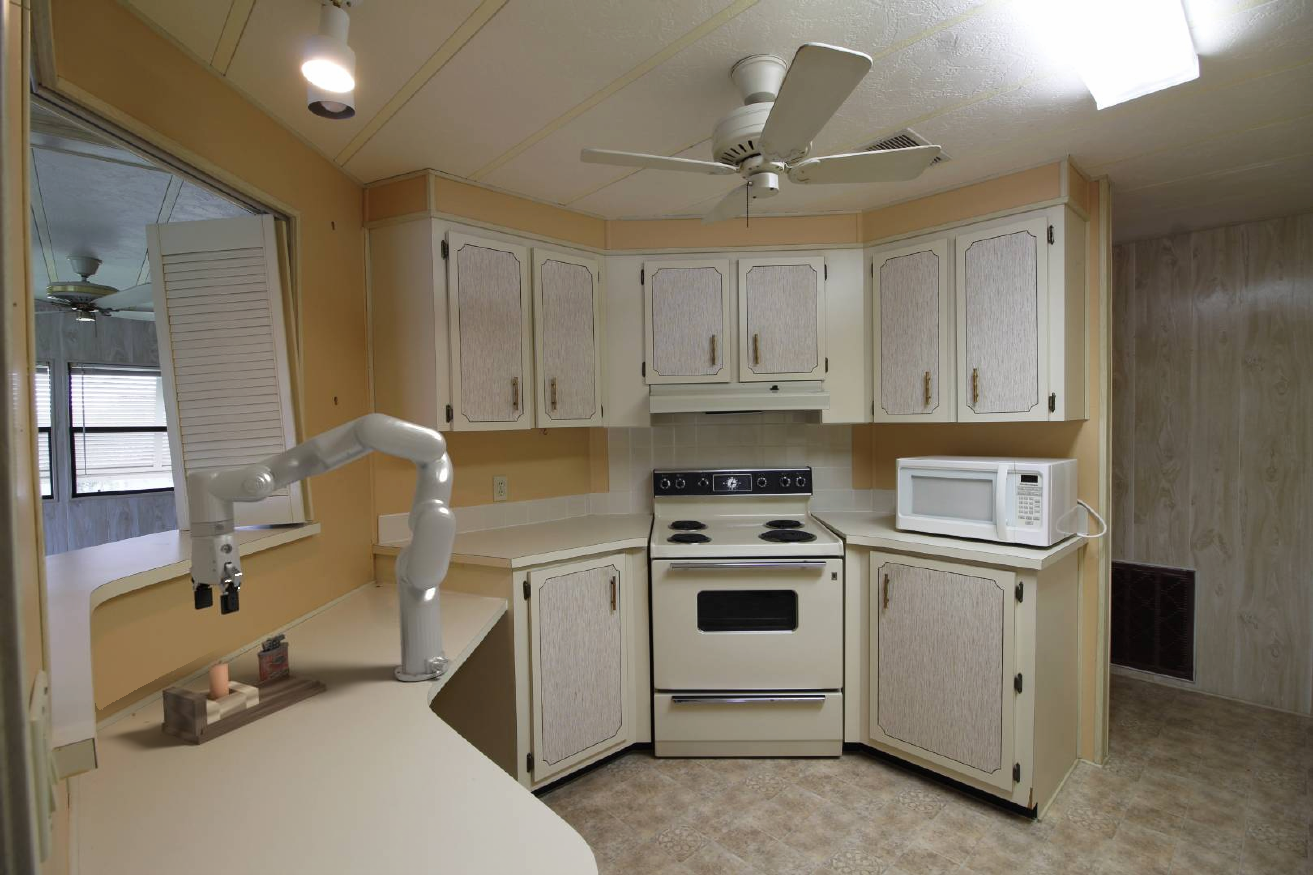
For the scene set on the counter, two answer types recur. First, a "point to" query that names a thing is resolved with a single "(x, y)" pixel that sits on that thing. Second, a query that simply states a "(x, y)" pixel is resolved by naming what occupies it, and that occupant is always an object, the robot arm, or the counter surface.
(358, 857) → the counter surface
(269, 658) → the lighter
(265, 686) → the rail board
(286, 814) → the counter surface
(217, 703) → the block
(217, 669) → the dowel
